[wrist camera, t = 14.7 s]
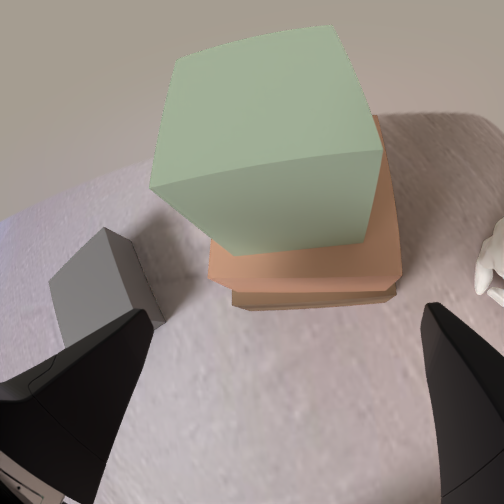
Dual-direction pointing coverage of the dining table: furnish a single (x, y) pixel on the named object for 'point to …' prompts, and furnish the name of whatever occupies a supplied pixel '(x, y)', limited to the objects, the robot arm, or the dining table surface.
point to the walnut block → (308, 299)
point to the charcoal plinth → (100, 287)
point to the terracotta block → (323, 256)
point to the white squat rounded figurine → (491, 264)
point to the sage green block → (269, 144)
